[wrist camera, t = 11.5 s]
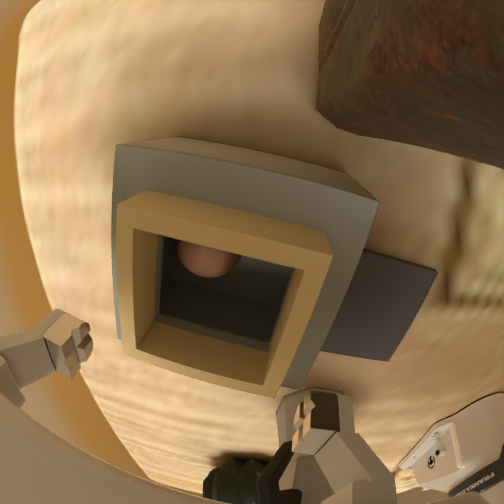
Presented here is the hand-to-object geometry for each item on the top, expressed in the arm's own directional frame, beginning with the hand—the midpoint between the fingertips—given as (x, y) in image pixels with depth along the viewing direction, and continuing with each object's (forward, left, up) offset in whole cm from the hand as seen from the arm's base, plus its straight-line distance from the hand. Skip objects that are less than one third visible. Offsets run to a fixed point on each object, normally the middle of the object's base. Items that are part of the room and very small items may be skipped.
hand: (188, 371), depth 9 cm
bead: (0, 0, -12) cm, 12 cm away
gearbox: (-1, 0, -13) cm, 13 cm away
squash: (-40, -9, -14) cm, 43 cm away
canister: (+14, -11, -14) cm, 23 cm away
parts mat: (-4, -12, -13) cm, 18 cm away
